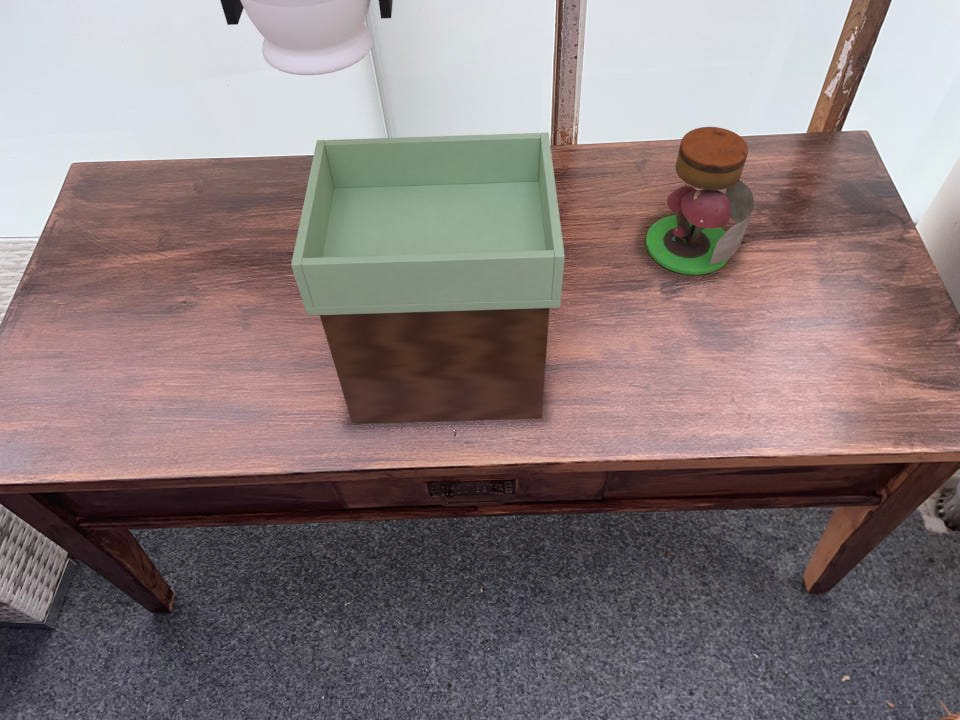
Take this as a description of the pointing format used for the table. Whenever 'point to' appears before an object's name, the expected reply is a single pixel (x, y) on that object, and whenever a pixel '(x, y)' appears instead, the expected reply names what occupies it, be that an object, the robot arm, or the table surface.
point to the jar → (311, 33)
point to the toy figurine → (704, 204)
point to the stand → (440, 364)
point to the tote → (430, 225)
